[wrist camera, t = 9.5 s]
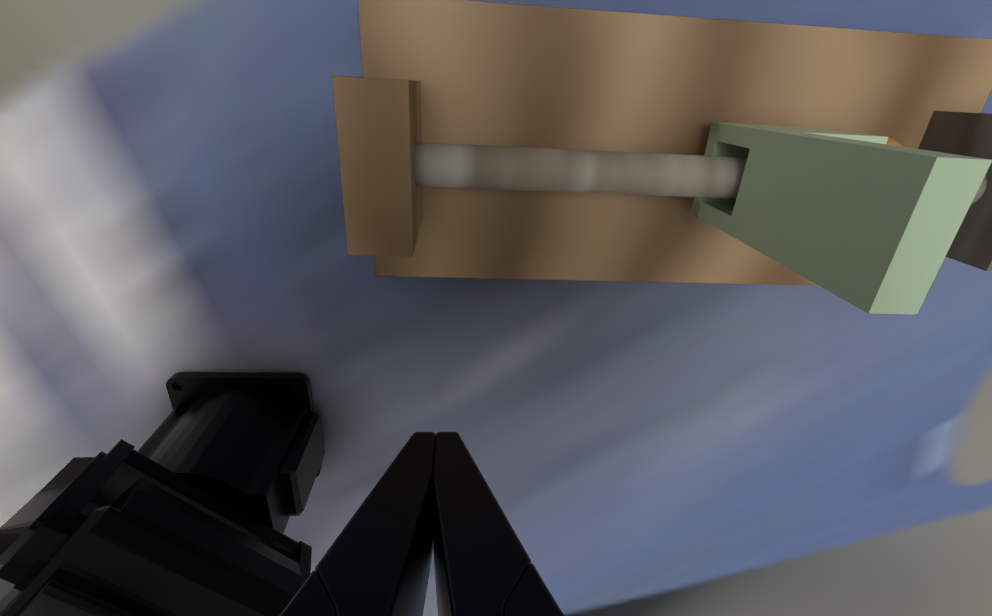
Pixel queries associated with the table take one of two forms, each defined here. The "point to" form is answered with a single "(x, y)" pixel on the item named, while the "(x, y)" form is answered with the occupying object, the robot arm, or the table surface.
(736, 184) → the linear slide rail
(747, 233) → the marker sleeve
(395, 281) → the table surface
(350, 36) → the table surface
